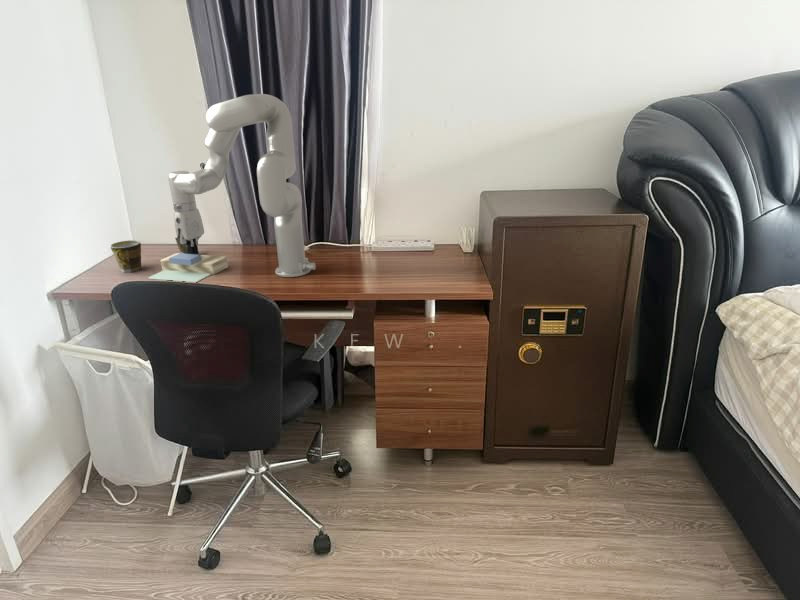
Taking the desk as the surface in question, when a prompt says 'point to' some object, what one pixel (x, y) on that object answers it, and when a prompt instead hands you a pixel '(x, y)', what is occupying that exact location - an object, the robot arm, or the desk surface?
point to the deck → (198, 265)
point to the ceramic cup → (127, 255)
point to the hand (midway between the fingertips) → (194, 255)
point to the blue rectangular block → (185, 259)
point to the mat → (179, 276)
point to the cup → (182, 247)
